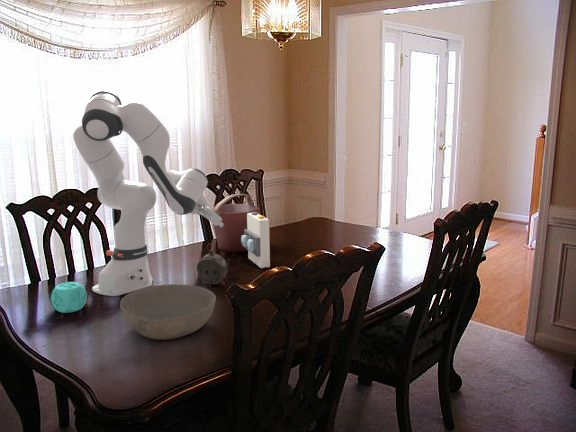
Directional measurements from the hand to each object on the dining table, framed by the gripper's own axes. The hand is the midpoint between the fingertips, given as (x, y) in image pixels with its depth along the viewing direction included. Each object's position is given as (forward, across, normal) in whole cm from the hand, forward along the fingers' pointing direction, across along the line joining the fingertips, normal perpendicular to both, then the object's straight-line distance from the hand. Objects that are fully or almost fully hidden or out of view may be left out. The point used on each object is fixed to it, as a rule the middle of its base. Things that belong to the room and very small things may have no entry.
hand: (222, 225), depth 208 cm
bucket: (+25, +32, +3) cm, 41 cm away
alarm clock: (+7, -16, +20) cm, 26 cm away
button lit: (+17, +1, 0) cm, 17 cm away
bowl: (-8, -48, +34) cm, 60 cm away
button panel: (+25, +5, +2) cm, 25 cm away
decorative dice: (-28, -18, +54) cm, 63 cm away
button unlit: (+17, +9, 0) cm, 19 cm away
